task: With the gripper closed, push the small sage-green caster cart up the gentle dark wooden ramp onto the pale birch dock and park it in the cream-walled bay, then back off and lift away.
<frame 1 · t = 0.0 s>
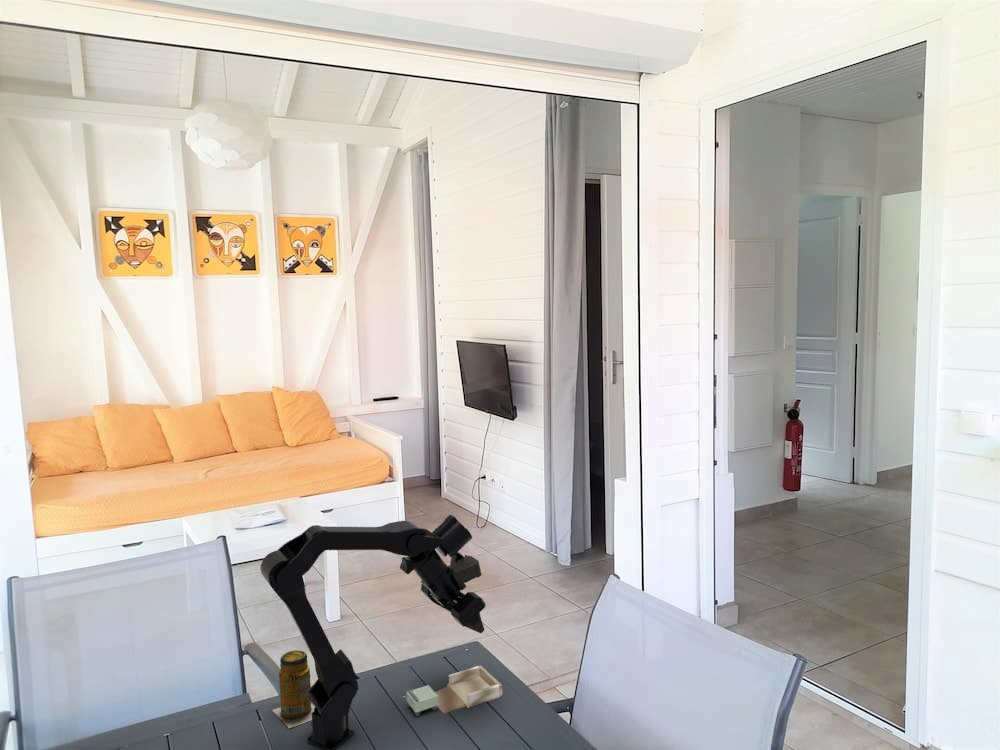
hand: (471, 623, 153), 15 cm above the table, tool tilted 35°, fingers open, 9 cm apart
dock: (474, 691, 154), on the table
trolley: (422, 708, 148), on the table
condiment: (297, 714, 148), on the table
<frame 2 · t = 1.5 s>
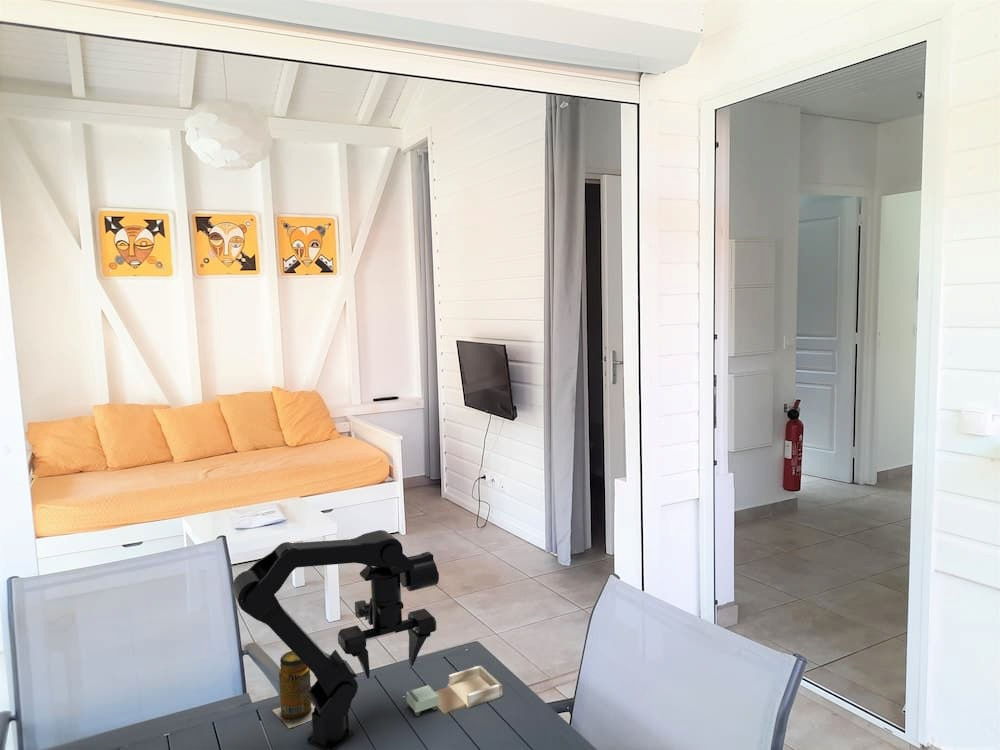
hand: (389, 671, 144), 10 cm above the table, tool pointing down, fingers open, 9 cm apart
nothing on the table moved.
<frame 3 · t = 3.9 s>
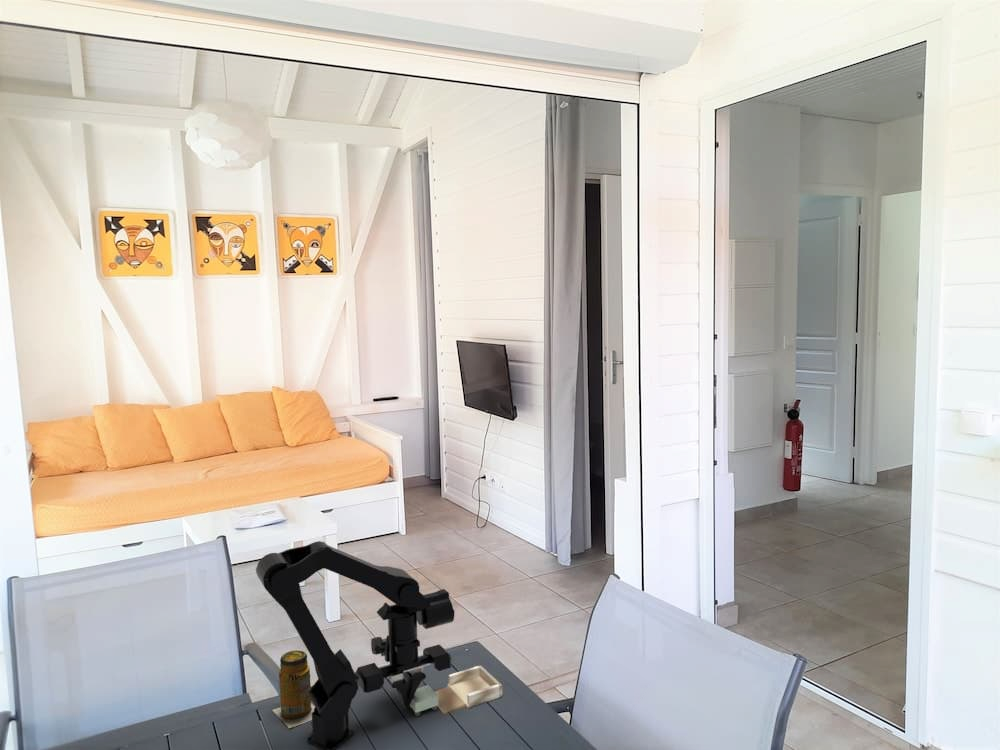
hand: (405, 707, 146), 1 cm above the table, tool pointing down, fingers closed
trolley: (422, 708, 148), on the table, touching gripper
everything else where it was.
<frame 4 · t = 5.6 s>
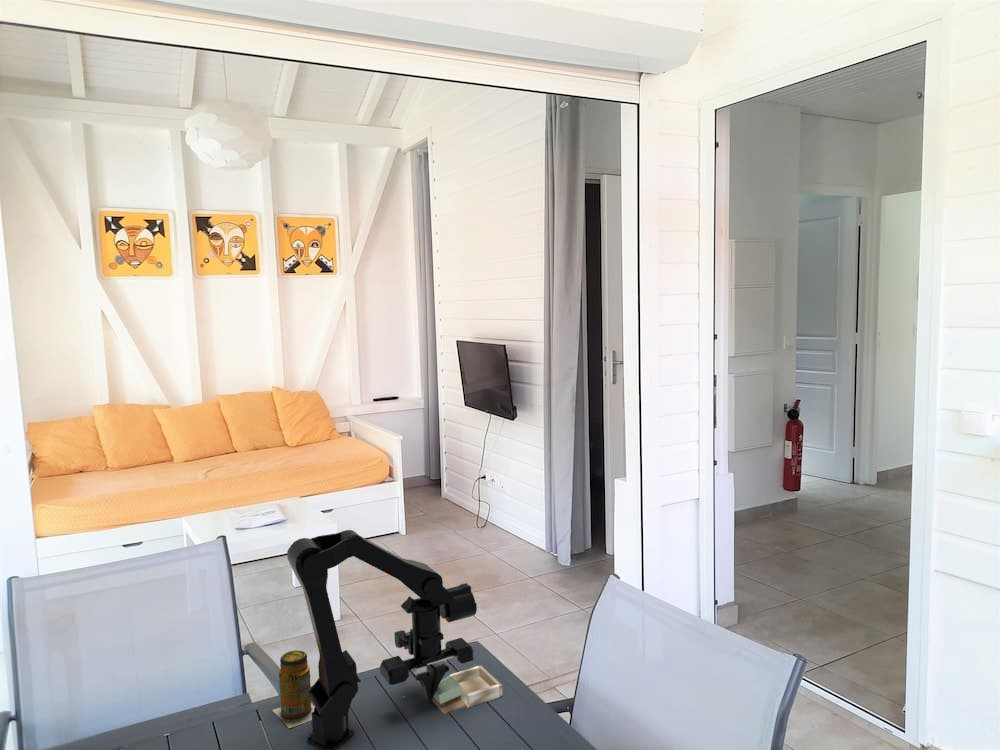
hand: (429, 699, 149), 1 cm above the table, tool pointing down, fingers closed
trolley: (446, 698, 151), resting on dock, tilted 6°, touching gripper
everything else where it was.
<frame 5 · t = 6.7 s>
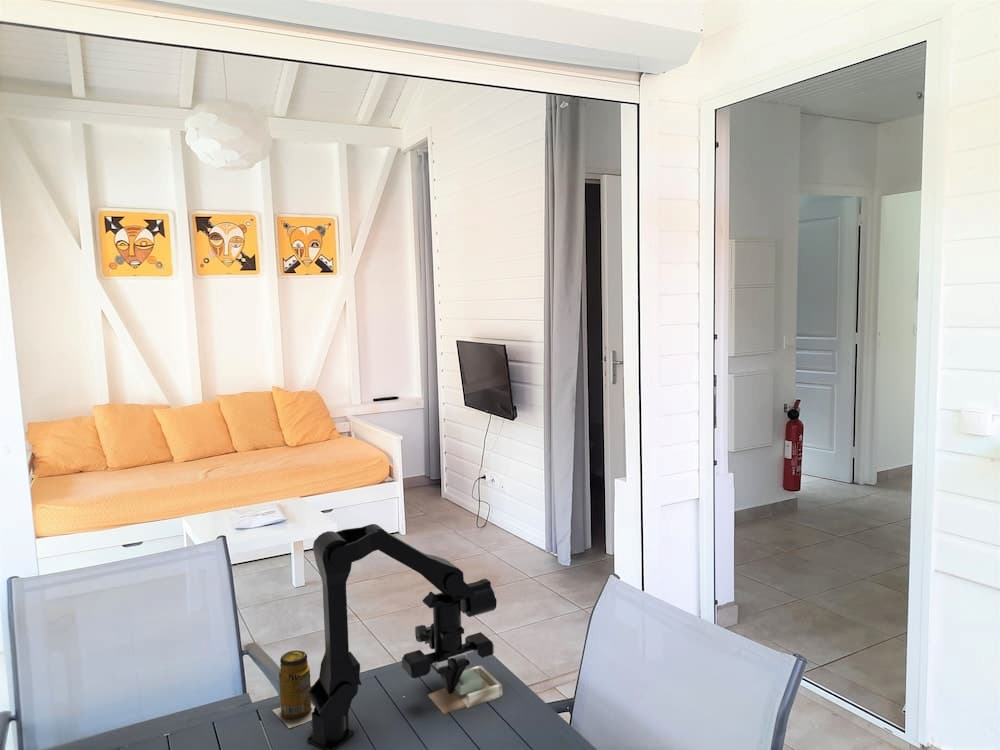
hand: (449, 692, 151), 1 cm above the table, tool pointing down, fingers closed
trolley: (466, 691, 153), point 1 cm above the table
everything else where it was.
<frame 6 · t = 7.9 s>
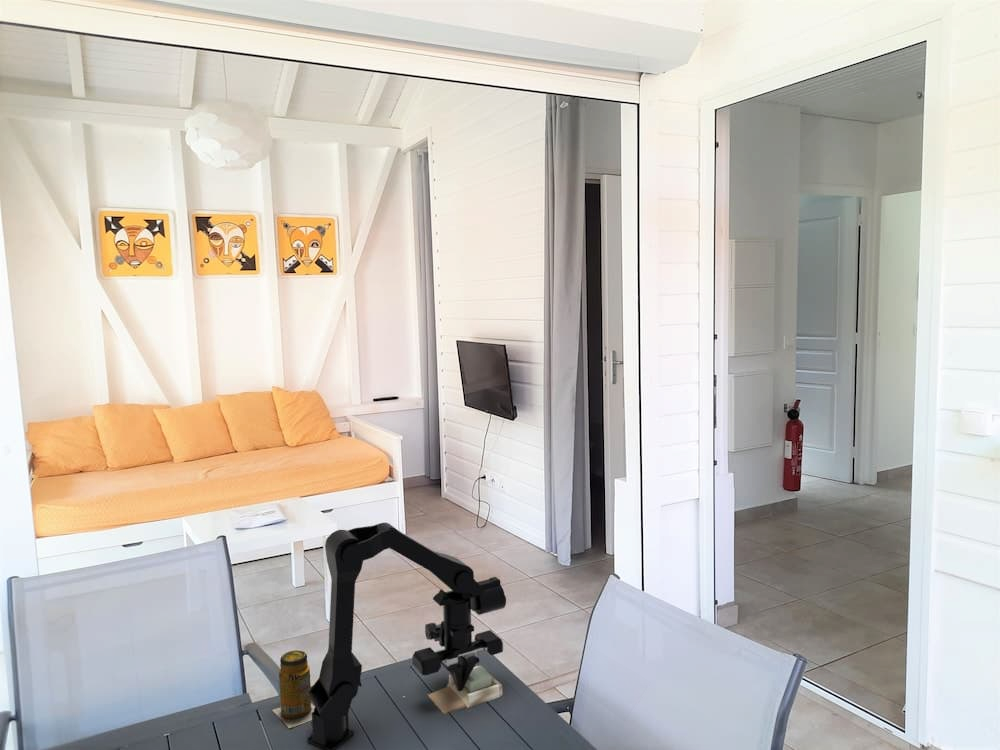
hand: (459, 690, 152), 1 cm above the table, tool pointing down, fingers closed
trolley: (476, 688, 154), resting on dock, touching gripper
everything else where it was.
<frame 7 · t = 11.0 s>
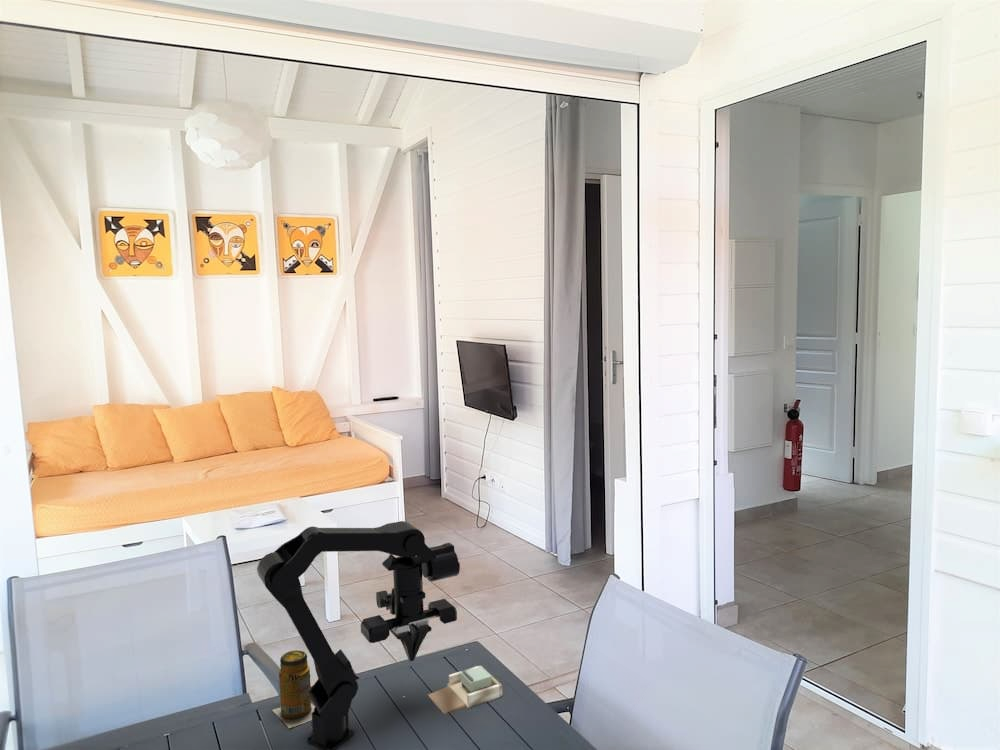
hand: (411, 660, 146), 11 cm above the table, tool pointing down, fingers closed
trolley: (476, 688, 154), resting on dock
everything else where it was.
at the end: trolley 0.6 cm from the dock (horizontally); trolley point 0.5 cm above the table; trolley tilted 0° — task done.
